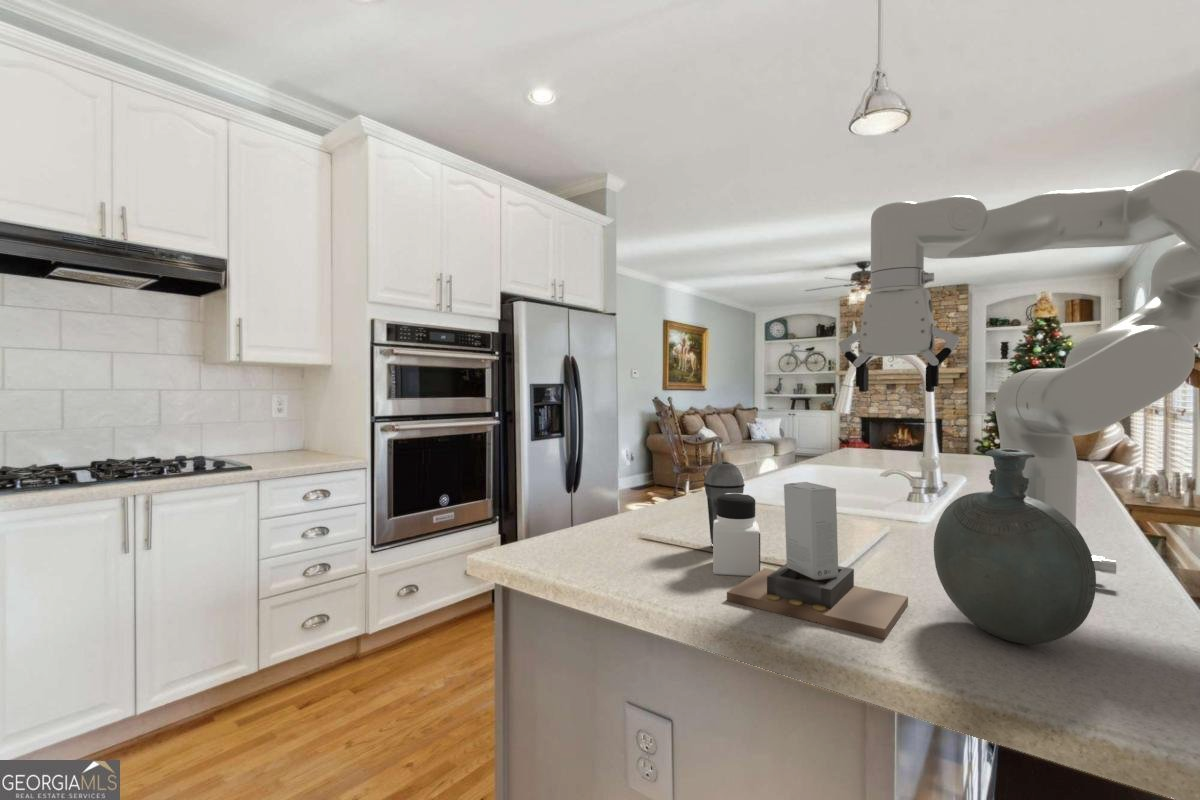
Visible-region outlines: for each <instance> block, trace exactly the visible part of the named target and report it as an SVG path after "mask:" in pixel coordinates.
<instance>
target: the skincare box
mask: <svg viewBox="0 0 1200 800" xmlns="http://www.w3.org/2000/svg"><path fill="white" fill-rule="evenodd" d="M783 493H784V494H783V495H784V496H783V497H784V500H783V501H784V520H785V521H784V524H785V528H784V529H785V552H786V553H785V555H786V564H787V568H789V569H792V570H794V571H796V572H798V573H801V574H803V575H805V576H807V577H810V578H812V579H814V580H822V579H829V578H835V577H838V566H839V550H838V549H839V548H838V547H839V545H838V514H837V513H838V512H837V511H838V510H837V489H836V487H832V486H831V487H830V486H826V485H822V484H817V483H813V482H808V481H800V482H792V483H791V482H790V483H789V482H788V483H784V485H783Z"/></svg>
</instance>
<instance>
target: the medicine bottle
mask: <svg viewBox="0 0 1200 800" xmlns="http://www.w3.org/2000/svg"><path fill="white" fill-rule="evenodd" d="M759 571H761V531H760V527H759V524H758V521H756V498H754V497H753V496H751V495H749V494H746V493H743V494H741V493H726V494H723V495H720V496H719V497H718V498H717V520H714V522H713V548H712V572H713V574H714V575H719V576H720V575H722V576H738V577H751V576H753V575H754V574H756V573H758V572H759Z"/></svg>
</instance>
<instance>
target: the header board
mask: <svg viewBox="0 0 1200 800" xmlns="http://www.w3.org/2000/svg"><path fill="white" fill-rule="evenodd" d="M726 601H727V602H730V603H735V604H739V605H743V606H748V607H751V608H756V609H758V610H759V609H760V610H764V611H767V612H772V613H775V614H776V613H777V614H780V615H783V614H784V616H787V615H788V617H792V616H793V617H792V618H796V619H800V618H801V619H800V620H804V619H806V620H805V621H808V620H809V621H808V622H813V623H816V622H817V624H820V625H824V626H829V627H833V628H838V629H842V630H844V631H850V632H854V633H857V634H861V635H865V636H869V637H874V638H878V639H882V640H886V639H887V637H888V636H889V634H890V632H891V631H892V629H893V628H894V627H895V625H896V624H897V622H898V621H899V619H900V618H901V617H902V615H903V614H904V612H905V610H906V609H907V607H908V606H909V596H907V595H903V594H902V595H901V594H897V593H892V592H888V591H883V590H877V589H873V588H866V587H862V586H857V585H856V586H855V569H854V568H851V567H845V566H841V565H838V577H835V578H829V579H822V580H814V579H812V578H810V577H807V576H805V575H803V574H801V573H798V572H796V571H794V570H792V569H789V568H787V563H785V564H783V565H782V566H781V567H779V568H778V569H771V568H766V567H764V568H762V569H760V571H759V572H758V573H756V574H754V575H753V576H749V577H748V578H746V579H745V580H743V581H742V582H740V583H739V584H737V585H736V586H734V587H733V588H731V589H729V590H728V591H726Z"/></svg>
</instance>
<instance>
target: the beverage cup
mask: <svg viewBox="0 0 1200 800" xmlns="http://www.w3.org/2000/svg"><path fill="white" fill-rule="evenodd" d="M715 440H716V441H715V442H716V449H717V450H716V451H717V458H718V462H717V463H715V464H713V465H711V466H710V467H709V468H708V470H707V472H706V474H705V476H704V482H703V485H704V491H705V495H706V499H707V500H706V501H707V512H708V524H709V534H710V543H712V544H713V522H714V520H717V498H718V497H719V496H720V495H723V494H726V493H741V494H744V491H745V486H746V485H745V482H744V480H745V479H744V477H743V474H742V471H741V470H740V469H739V467H737V465H735V464H734V463H731V462H728V461H722V460H723V459H722V451H721V445H720V437H716V438H715ZM712 544H711V545H712Z"/></svg>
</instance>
